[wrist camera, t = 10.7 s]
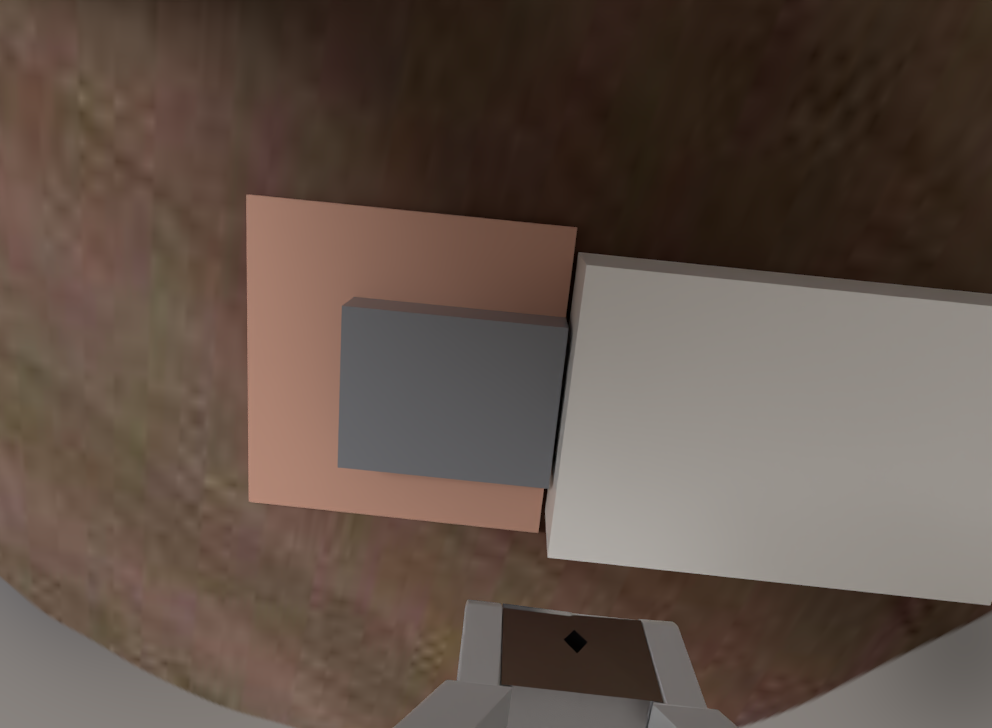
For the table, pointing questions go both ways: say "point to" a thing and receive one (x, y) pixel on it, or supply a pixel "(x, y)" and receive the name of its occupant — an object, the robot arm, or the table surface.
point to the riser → (775, 429)
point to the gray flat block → (449, 391)
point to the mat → (317, 341)
